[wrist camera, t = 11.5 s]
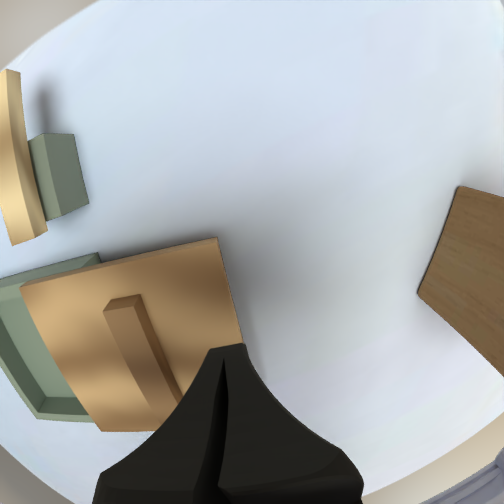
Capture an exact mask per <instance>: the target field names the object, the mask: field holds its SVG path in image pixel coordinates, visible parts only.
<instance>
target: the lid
mask: <svg viewBox="0 0 504 504" xmlns="http://www.w3.org/2000/svg"><path fill="white" fill-rule="evenodd" d="M19 290H20V292H21V295H22V297H23V299H24V302H25V304H26V306H27V308H28V311H29V313H30V315H31V317H32V319H33V321H34V323H35V325H36V327H37V329H38V331H39V333H40V335H41V337H42V339H43V341H44V343H45V345H46V347H47V349H48V350H49V352H50V354H51V356H52V358H53V359H54V361H55V363H56V365H57V366H58V368H59V370H60V371H61V373H62V375H63V376H64V378H65V380H66V381H67V383H68V384H69V386H70V388H71V389H72V391H73V392H74V394H75V395H76V397H77V398H78V400H79V401H80V403H81V404H82V406H83V407H84V408H85V410H86V411H87V413H88V414H89V415H90V417H91V418H92V420H93V421H94V422H95V424H96V425H97V426H98V428H99V429H100V430H101V432H141V431H156V430H157V429H158V428H159V427H160V426H161V425H162V424H163V423H164V422H165V420H166V419H167V418H168V417H169V416H170V414H171V413H172V412H173V410H174V409H175V408H176V406H177V405H178V404H179V402H180V401H181V399H182V397H183V396H184V394H185V393H186V391H187V390H188V388H189V387H190V385H191V383H192V381H193V380H194V378H195V376H196V374H197V372H198V370H199V368H200V367H201V365H202V363H203V361H204V358H205V356H206V354H207V352H208V350H209V349H210V348H216V347H221V346H227V345H232V344H237V343H244V342H243V338H242V334H241V331H240V327H239V323H238V319H237V315H236V311H235V307H234V303H233V299H232V296H231V292H230V288H229V284H228V280H227V275H226V271H225V267H224V263H223V259H222V255H221V251H220V247H219V242H218V238H217V237H215V238H210V239H205V240H201V241H196V242H192V243H187V244H183V245H178V246H174V247H169V248H165V249H160V250H156V251H152V252H147V253H143V254H138V255H134V256H130V257H126V258H121V259H117V260H113V261H109V262H104V263H100V264H96V265H92V266H88V267H84V268H79V269H75V270H71V271H67V272H63V273H59V274H55V275H51V276H47V277H43V278H39V279H35V280H31V281H27V282H25V283H24V284H23V285H21V286H20V287H19Z"/></svg>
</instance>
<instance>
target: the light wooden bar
mask: <svg viewBox="0 0 504 504" xmlns="http://www.w3.org/2000/svg"><path fill="white" fill-rule="evenodd" d="M0 206H1V210H2V214H3V218H4V221H5V225H6V228H7V232H8V235H9V238H10V241H11V244H12V246H14V245H16V244H19V243H22V242H25V241H28V240H31V239H33V238H36V237H38V236H39V235H41V234H43V233H45V232H47V231H48V228H47V225H46V221H45V218H44V214H43V210H42V207H41V203H40V199H39V195H38V191H37V187H36V183H35V178H34V174H33V169H32V164H31V159H30V153H29V148H28V142H27V135H26V129H25V121H24V113H23V104H22V93H21V78H20V72H16V71H13V70H9V69H5V70H4V71H2V72H1V73H0Z"/></svg>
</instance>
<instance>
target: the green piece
mask: <svg viewBox="0 0 504 504" xmlns="http://www.w3.org/2000/svg"><path fill="white" fill-rule="evenodd" d="M100 263H101V261H100V258H99V255H98V252H97V253H93V254H89V255H85V256H82V257H78V258H74V259H70V260H66V261H63V262H59V263H55V264H51V265H48V266H44V267H40V268H37V269H33V270H30V271H26V272H23V273H19V274H16V275H12V276H9V277H5V278H2V279H0V366H1V368H2V370H3V371H4V373H5V374H6V376H7V378H8V379H9V381H10V382H11V384H12V385H13V387H14V388H15V390H16V391H17V393H18V394H19V395H20V397H21V398H22V400H23V401H24V403H25V404H26V405H27V407H28V408H29V409H30V411H31V412H32V413H33V415H34V416H35V417H36V419H42V420H53V421H67V422H91V423H95V422H94V421H93V420H92V418H91V417H90V415H89V414H88V413H87V411H86V410H85V408H84V407H83V406H82V404H81V403H80V401H79V400H78V398H77V397H76V395H75V394H74V392H73V391H72V389H71V388H70V386H69V384H68V383H67V381H66V380H65V378H64V376H63V375H62V373H61V371H60V370H59V368H58V366H57V365H56V363H55V361H54V359H53V358H52V356H51V354H50V352H49V350H48V349H47V347H46V345H45V343H44V341H43V339H42V337H41V335H40V333H39V331H38V329H37V327H36V325H35V323H34V321H33V319H32V317H31V315H30V313H29V311H28V308H27V306H26V304H25V302H24V299H23V297H22V295H21V292H20V290H19V287H20V286H21V285H23V284H24V283H25V282H27V281H31V280H35V279H39V278H43V277H47V276H51V275H55V274H59V273H63V272H67V271H71V270H75V269H79V268H84V267H88V266H92V265H96V264H100Z"/></svg>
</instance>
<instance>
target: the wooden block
mask: <svg viewBox="0 0 504 504" xmlns="http://www.w3.org/2000/svg"><path fill="white" fill-rule="evenodd" d="M418 296H419V297H420V298H421V299H422V300H423V301H424V302H425V303H426V304H428V305H429V306H430V307H431V308H432V309H433V310H434V311H435V312H437V313H438V314H439V315H440V316H441V317H442V318H443V319H444V320H445V321H447V322H448V323H449V324H450V325H451V326H452V327H453V328H454V329H455V330H456V331H457V332H458V333H459V334H461V335H462V336H463V337H464V338H465V339H466V340H467V341H468V342H469V343H470V344H471V345H472V346H473V347H474V348H475V349H476V350H477V351H478V352H479V353H480V354H481V355H482V356H483V357H484V358H485V359H486V360H487V361H488V362H490V363H491V364H492V366H493V367H494V368H495V369H496V370H497V371H498V372H499V373H500V374H501V375H502V376H503V377H504V197H500V196H497V195H493V194H490V193H486V192H483V191H479V190H475V189H472V188H468V187H459V188H458V189H457V192H456V195H455V198H454V201H453V204H452V207H451V210H450V213H449V216H448V219H447V222H446V225H445V227H444V230H443V233H442V235H441V238H440V241H439V243H438V246H437V248H436V251H435V253H434V256H433V258H432V261H431V263H430V265H429V268H428V270H427V272H426V275H425V277H424V279H423V281H422V284H421V286H420V288H419V290H418Z"/></svg>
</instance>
